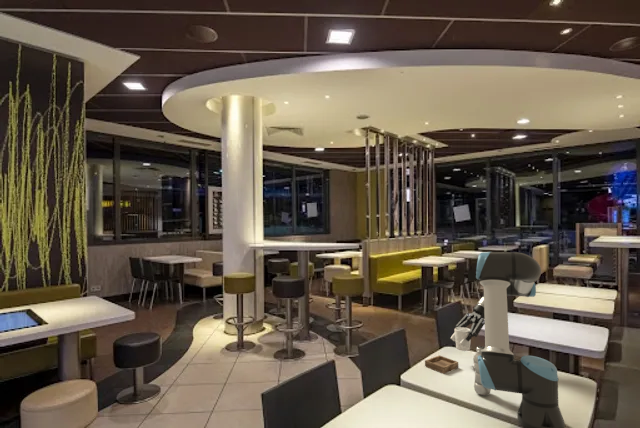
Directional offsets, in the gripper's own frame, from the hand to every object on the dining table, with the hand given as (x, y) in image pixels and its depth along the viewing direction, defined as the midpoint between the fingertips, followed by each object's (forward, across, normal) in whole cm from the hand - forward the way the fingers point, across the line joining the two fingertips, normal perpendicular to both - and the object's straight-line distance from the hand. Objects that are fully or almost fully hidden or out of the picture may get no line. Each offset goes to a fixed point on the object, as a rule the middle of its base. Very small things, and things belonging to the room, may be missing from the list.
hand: (457, 342), depth 196 cm
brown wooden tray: (+15, 0, -2) cm, 15 cm away
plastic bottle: (+15, -30, -3) cm, 34 cm away
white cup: (0, 0, -5) cm, 5 cm away
